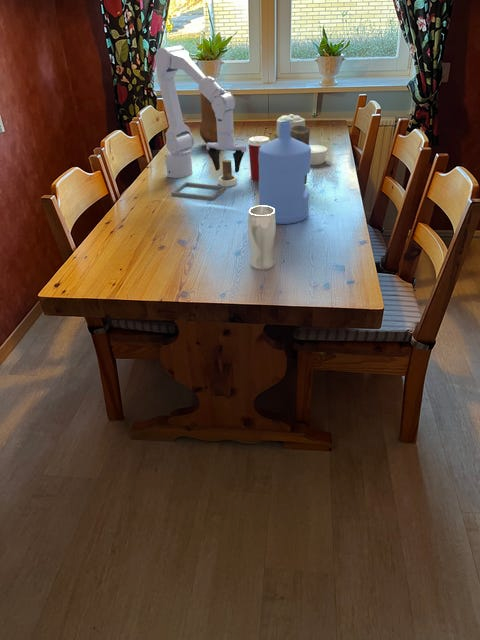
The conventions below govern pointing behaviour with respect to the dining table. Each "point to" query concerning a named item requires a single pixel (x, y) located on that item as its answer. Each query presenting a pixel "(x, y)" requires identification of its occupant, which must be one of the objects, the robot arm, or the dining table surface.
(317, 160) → the ramekin
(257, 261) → the beer glass
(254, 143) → the coffee cup
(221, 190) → the tray
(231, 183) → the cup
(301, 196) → the water jug
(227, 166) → the dowel
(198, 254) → the dining table surface
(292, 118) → the lumpy-topped squat cylinder
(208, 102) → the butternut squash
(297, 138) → the brown rounded cylinder
